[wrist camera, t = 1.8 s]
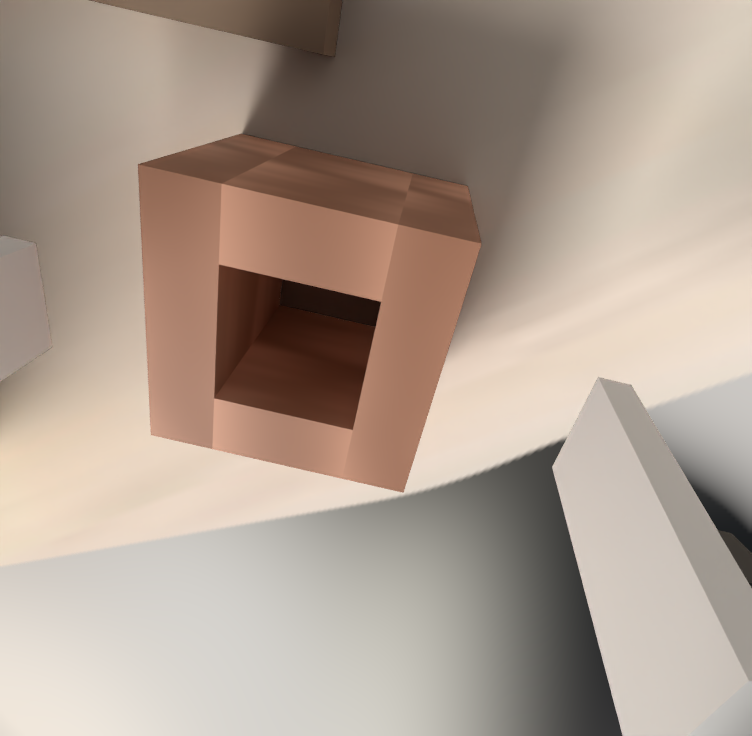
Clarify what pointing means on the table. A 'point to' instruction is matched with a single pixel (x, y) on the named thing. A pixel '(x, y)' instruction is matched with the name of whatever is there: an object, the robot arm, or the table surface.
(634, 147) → the table surface
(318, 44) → the brown square board
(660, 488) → the robot arm
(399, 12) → the table surface
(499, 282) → the table surface
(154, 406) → the brown open box
